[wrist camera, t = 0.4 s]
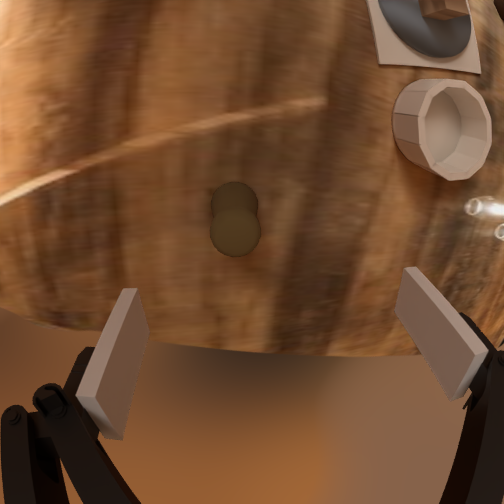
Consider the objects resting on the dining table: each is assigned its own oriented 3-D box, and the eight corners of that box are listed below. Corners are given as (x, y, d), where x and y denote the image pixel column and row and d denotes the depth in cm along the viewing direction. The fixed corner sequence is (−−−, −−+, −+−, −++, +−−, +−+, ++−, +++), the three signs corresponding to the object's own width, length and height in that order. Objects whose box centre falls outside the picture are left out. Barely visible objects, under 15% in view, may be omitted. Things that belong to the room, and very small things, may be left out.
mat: (350, -54, 25) (352, -55, 24) (456, -31, 25) (458, -31, 24) (378, 64, 33) (380, 63, 33) (478, 73, 33) (481, 73, 32)
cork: (261, 185, 40) (272, 214, 30) (253, 229, 43) (260, 269, 33) (214, 178, 39) (208, 205, 29) (208, 223, 42) (201, 262, 32)
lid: (364, -46, 25) (386, -66, 18) (453, -26, 25) (480, -36, 18) (388, 53, 32) (416, 47, 26) (473, 63, 32) (505, 63, 25)
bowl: (386, 78, 34) (413, 76, 28) (458, 82, 34) (488, 84, 28) (394, 170, 40) (419, 183, 34) (462, 165, 40) (490, 176, 33)
